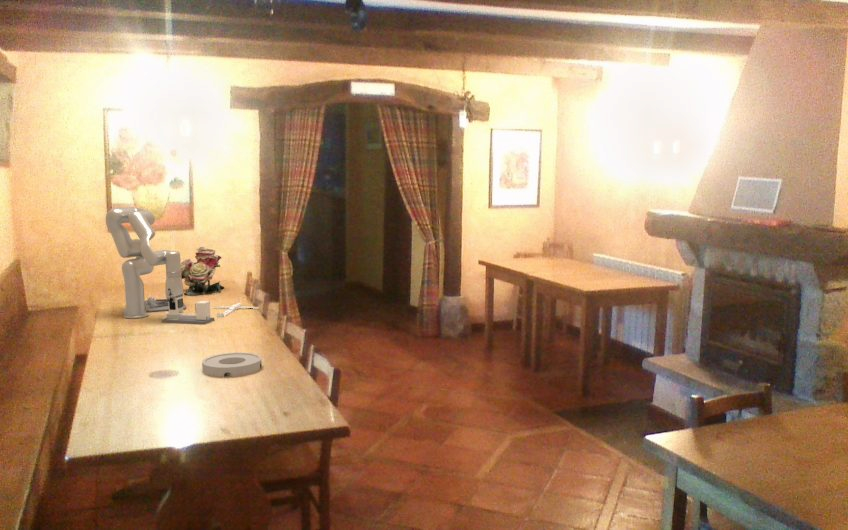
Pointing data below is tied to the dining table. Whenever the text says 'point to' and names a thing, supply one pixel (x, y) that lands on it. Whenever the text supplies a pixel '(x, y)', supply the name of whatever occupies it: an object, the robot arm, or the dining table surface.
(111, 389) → the dining table surface
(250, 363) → the ashtray
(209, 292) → the rose bouquet
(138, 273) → the robot arm
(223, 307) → the articulated figure
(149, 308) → the grey tray
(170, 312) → the cream rectangular block
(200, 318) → the rail board
